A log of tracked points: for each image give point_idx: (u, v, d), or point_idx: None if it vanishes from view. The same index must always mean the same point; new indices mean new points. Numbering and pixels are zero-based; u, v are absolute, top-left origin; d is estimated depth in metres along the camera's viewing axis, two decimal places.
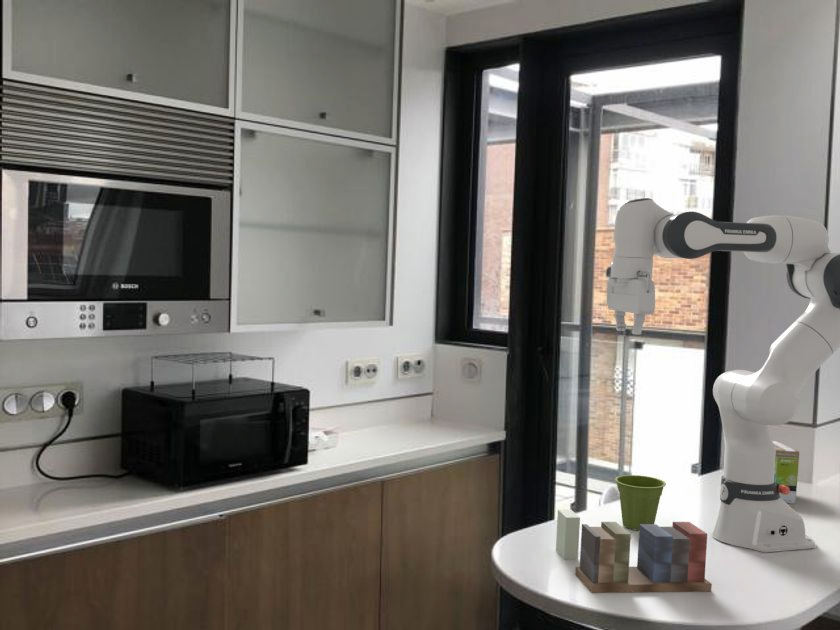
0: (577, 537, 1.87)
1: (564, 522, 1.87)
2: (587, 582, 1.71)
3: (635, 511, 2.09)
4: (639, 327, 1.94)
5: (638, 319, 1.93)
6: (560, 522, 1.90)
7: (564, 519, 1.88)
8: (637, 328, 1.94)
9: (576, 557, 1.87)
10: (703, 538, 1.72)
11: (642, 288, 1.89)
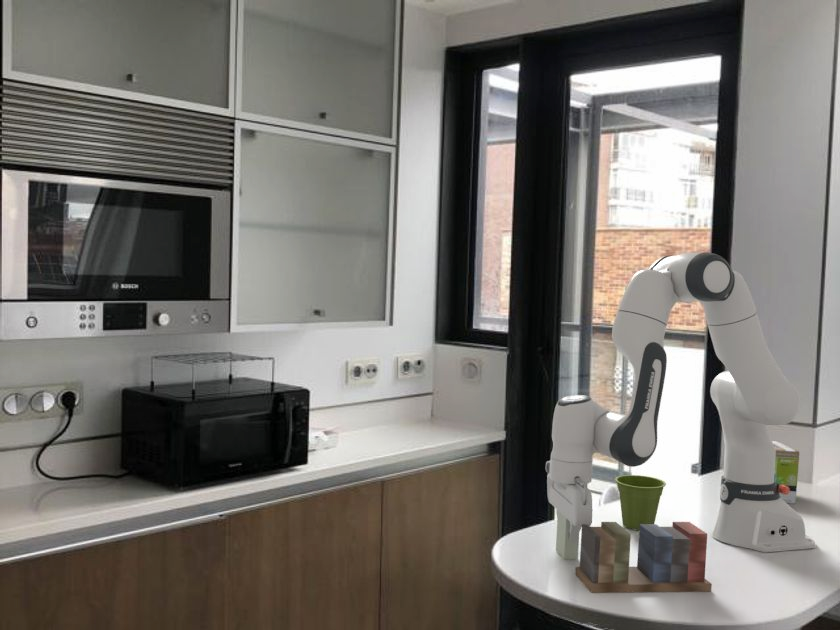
0: None
1: (564, 521, 1.87)
2: (587, 582, 1.71)
3: (635, 511, 2.09)
4: (575, 534, 1.85)
5: (574, 527, 1.84)
6: (560, 522, 1.90)
7: (564, 518, 1.88)
8: (573, 535, 1.85)
9: (576, 557, 1.87)
10: (703, 538, 1.72)
11: (578, 500, 1.80)
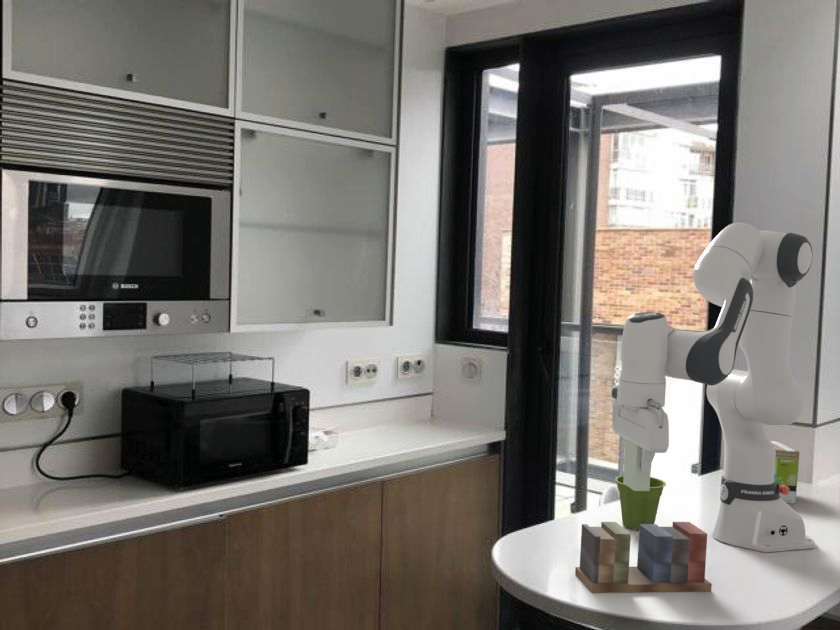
0: None
1: (635, 449, 1.71)
2: (587, 582, 1.71)
3: (635, 511, 2.09)
4: (648, 463, 1.69)
5: (647, 455, 1.68)
6: (629, 451, 1.74)
7: (634, 446, 1.71)
8: (646, 464, 1.69)
9: (647, 488, 1.71)
10: (703, 538, 1.72)
11: (654, 423, 1.63)
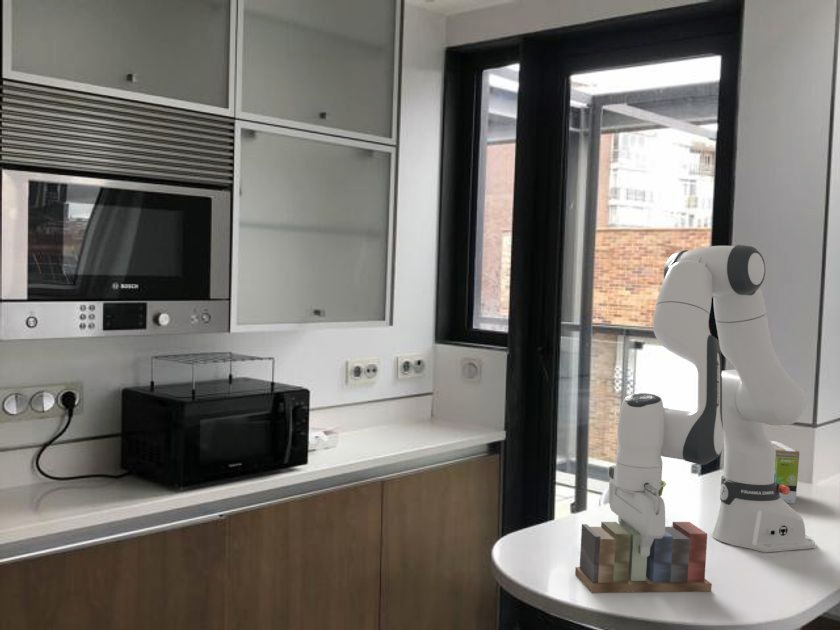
0: (645, 556, 1.71)
1: (631, 539, 1.72)
2: (587, 582, 1.71)
3: None
4: (647, 548, 1.69)
5: (646, 540, 1.67)
6: None
7: None
8: (644, 549, 1.69)
9: (644, 578, 1.72)
10: (703, 538, 1.72)
11: (650, 510, 1.64)
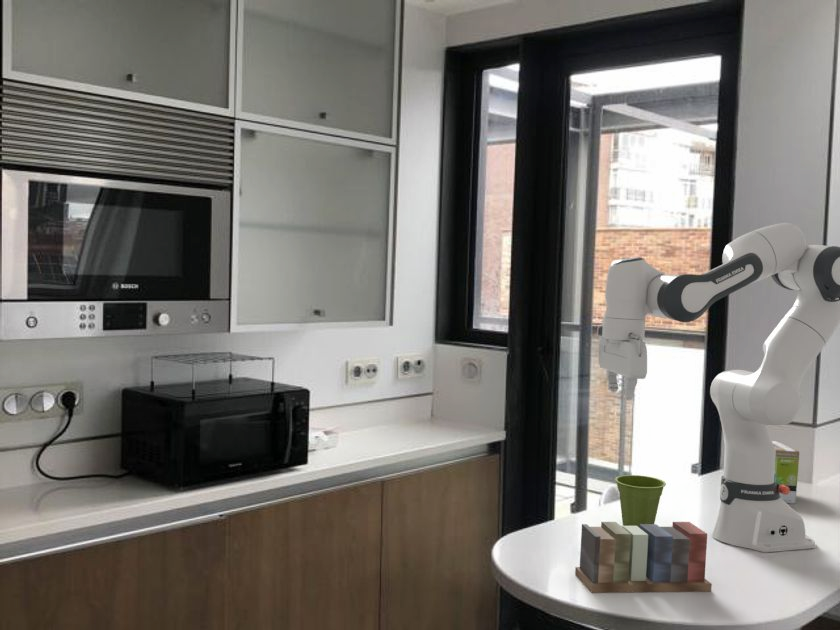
0: (645, 556, 1.71)
1: (631, 539, 1.72)
2: (587, 582, 1.71)
3: (635, 511, 2.09)
4: (631, 390, 1.89)
5: (630, 382, 1.88)
6: None
7: None
8: (629, 391, 1.89)
9: (644, 578, 1.72)
10: (703, 538, 1.72)
11: (634, 352, 1.85)
